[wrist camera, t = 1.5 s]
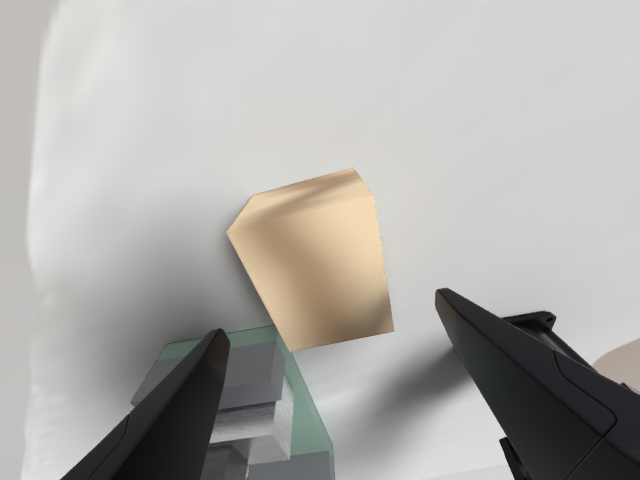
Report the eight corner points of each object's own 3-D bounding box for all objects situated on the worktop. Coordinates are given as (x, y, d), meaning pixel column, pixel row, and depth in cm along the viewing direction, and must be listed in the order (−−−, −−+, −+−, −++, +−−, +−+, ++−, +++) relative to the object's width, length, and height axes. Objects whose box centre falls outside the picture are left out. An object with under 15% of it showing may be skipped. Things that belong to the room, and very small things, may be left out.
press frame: (278, 324, 19) (257, 463, 11) (332, 445, 30) (339, 552, 23) (166, 344, 19) (77, 486, 12) (261, 454, 31) (245, 561, 24)
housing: (352, 166, 13) (373, 194, 9) (372, 274, 17) (394, 331, 12) (253, 193, 13) (226, 232, 9) (295, 291, 17) (289, 351, 13)
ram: (280, 366, 19) (252, 592, 10) (294, 393, 21) (281, 600, 12) (178, 382, 19) (66, 607, 10) (201, 407, 21) (123, 613, 12)
